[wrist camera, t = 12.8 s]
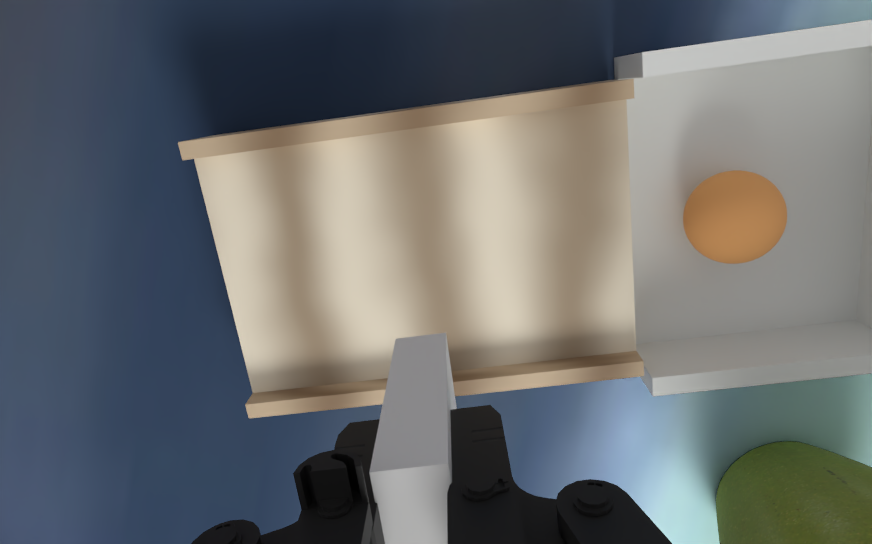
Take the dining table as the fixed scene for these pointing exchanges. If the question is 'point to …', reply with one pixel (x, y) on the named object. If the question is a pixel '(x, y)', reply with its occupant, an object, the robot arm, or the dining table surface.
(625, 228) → the deck
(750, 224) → the ball
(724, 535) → the flower pot
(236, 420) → the dining table surface
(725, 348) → the tray
